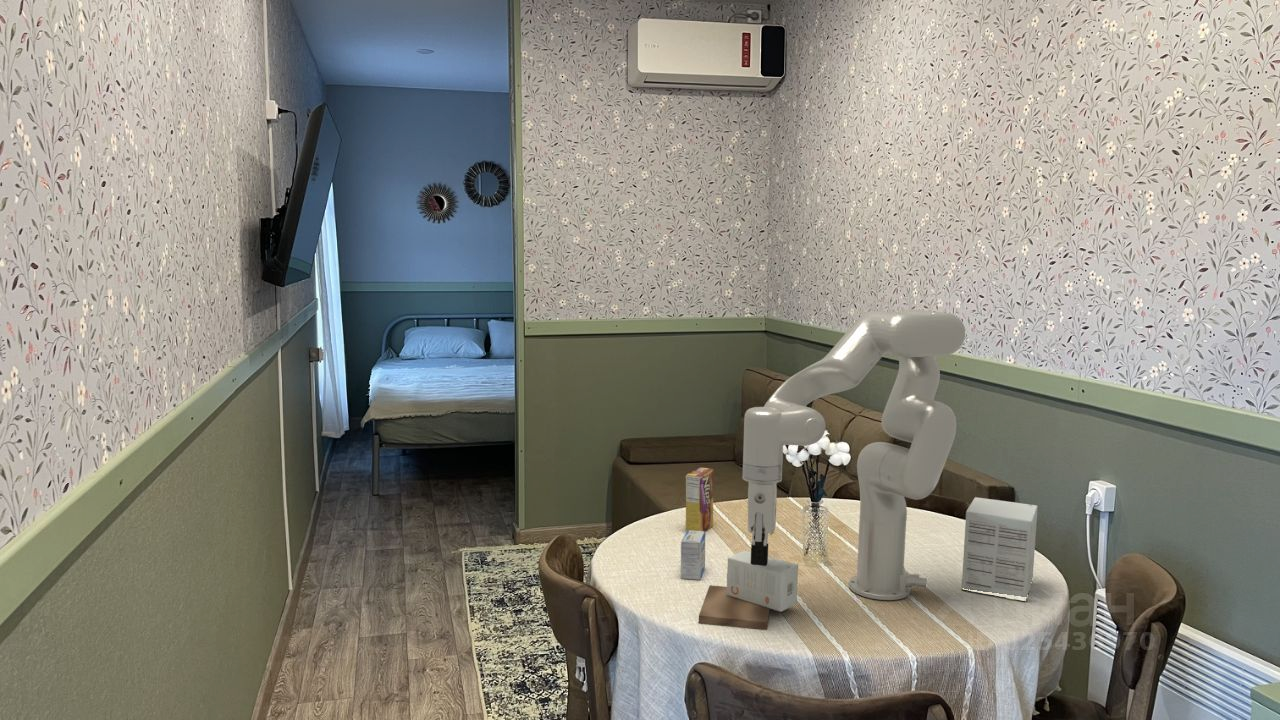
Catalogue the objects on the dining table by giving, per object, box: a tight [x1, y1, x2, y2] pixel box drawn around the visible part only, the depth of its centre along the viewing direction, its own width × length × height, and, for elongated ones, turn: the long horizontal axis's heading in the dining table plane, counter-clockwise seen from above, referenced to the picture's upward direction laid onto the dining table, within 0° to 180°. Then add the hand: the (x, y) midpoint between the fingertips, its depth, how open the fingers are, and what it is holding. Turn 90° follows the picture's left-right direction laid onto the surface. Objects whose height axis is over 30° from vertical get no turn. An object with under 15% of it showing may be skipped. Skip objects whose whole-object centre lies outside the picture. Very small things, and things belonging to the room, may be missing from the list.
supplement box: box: [961, 496, 1038, 597], centre depth 193 cm, size 13×13×18 cm
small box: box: [726, 550, 799, 613], centre depth 180 cm, size 8×6×13 cm
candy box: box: [685, 467, 714, 533], centre depth 229 cm, size 9×4×15 cm, turn 152°
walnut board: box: [698, 584, 771, 630], centre depth 179 cm, size 13×16×2 cm
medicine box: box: [680, 530, 706, 581], centre depth 198 cm, size 8×4×9 cm, turn 168°
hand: (759, 563), depth 175 cm, fingers closed
